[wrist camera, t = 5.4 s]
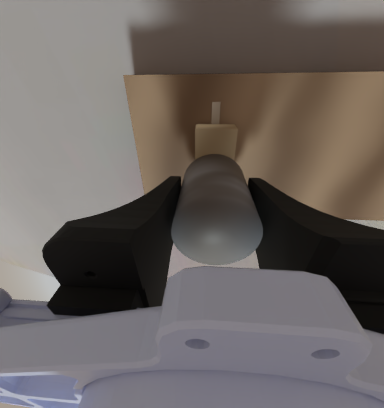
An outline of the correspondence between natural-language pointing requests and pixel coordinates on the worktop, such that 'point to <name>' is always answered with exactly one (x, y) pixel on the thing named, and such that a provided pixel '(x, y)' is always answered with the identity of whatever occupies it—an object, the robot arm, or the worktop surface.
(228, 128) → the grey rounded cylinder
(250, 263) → the worktop surface
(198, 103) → the board
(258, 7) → the worktop surface
